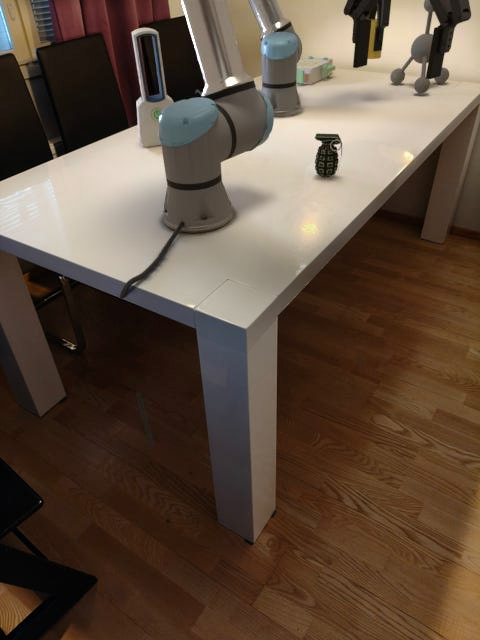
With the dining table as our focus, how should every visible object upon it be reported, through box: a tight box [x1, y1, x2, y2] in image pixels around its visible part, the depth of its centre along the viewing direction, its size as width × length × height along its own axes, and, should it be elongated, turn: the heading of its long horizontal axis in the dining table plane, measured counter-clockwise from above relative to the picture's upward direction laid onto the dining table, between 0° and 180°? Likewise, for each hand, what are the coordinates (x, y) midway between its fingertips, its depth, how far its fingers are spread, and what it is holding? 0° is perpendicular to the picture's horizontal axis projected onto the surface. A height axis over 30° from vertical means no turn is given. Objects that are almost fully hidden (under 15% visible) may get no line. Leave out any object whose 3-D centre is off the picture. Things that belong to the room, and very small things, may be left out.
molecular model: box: [390, 0, 450, 94], centre depth 178 cm, size 24×22×30 cm
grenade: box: [314, 133, 343, 179], centre depth 119 cm, size 7×6×10 cm
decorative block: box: [296, 55, 336, 85], centre depth 206 cm, size 26×6×20 cm
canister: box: [368, 18, 382, 60], centre depth 163 cm, size 6×6×11 cm
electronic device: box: [130, 27, 175, 148], centre depth 141 cm, size 12×8×30 cm, turn 105°
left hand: (394, 71), depth 77 cm, fingers open, 13 cm apart
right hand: (373, 49), depth 165 cm, fingers closed on canister, 5 cm apart
